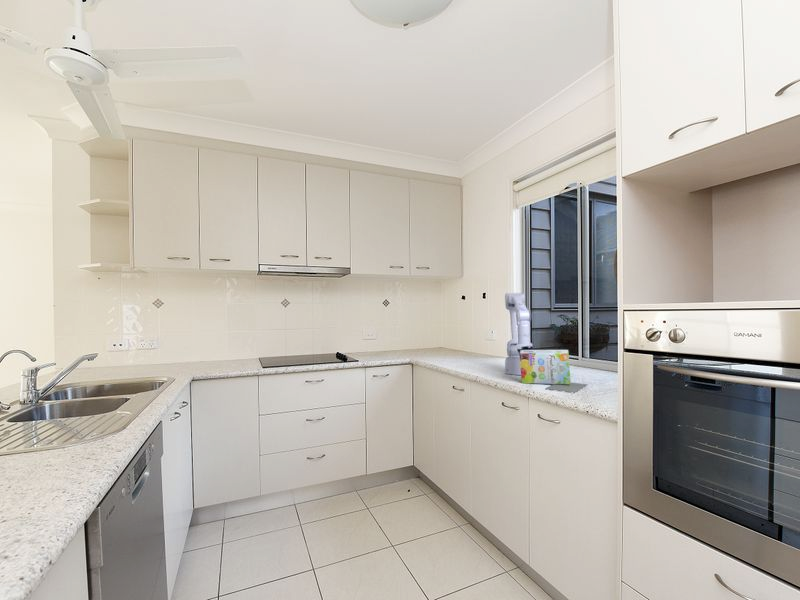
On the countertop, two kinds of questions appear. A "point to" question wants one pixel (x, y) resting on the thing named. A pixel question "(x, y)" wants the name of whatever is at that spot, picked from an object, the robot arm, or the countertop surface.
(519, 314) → the robot arm
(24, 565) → the countertop surface
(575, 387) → the mat
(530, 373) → the snack box
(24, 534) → the countertop surface
